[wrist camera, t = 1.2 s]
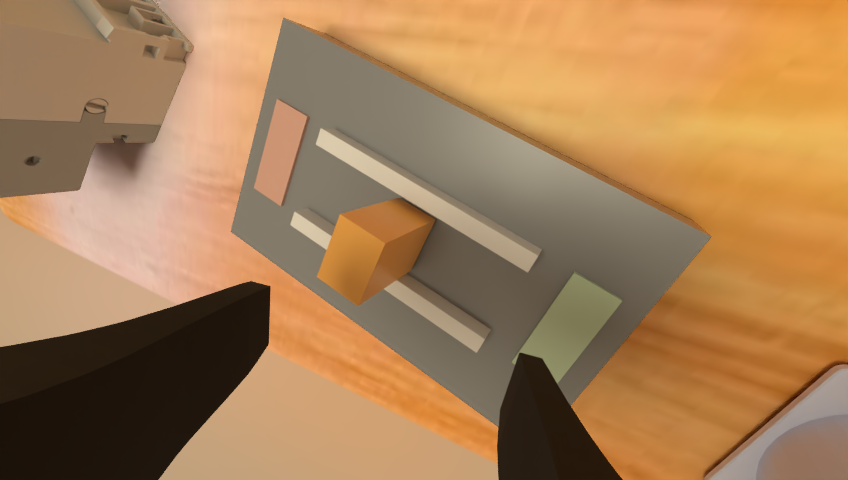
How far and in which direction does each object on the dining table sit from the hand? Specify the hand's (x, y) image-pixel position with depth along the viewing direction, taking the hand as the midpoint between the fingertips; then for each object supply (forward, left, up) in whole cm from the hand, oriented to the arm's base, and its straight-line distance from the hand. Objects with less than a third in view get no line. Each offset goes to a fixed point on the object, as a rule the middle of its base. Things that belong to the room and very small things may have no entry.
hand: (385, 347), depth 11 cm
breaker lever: (+3, 0, -7) cm, 8 cm away
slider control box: (+3, 0, -10) cm, 11 cm away
